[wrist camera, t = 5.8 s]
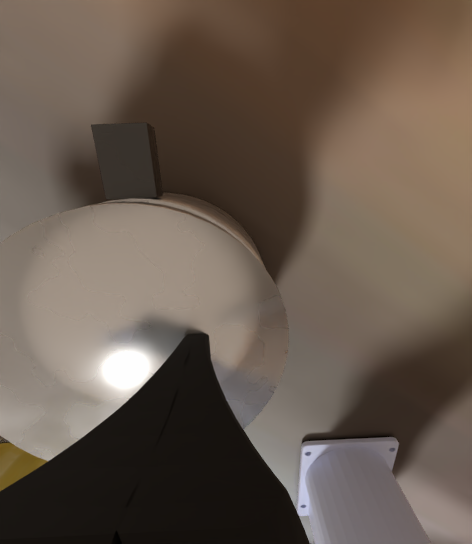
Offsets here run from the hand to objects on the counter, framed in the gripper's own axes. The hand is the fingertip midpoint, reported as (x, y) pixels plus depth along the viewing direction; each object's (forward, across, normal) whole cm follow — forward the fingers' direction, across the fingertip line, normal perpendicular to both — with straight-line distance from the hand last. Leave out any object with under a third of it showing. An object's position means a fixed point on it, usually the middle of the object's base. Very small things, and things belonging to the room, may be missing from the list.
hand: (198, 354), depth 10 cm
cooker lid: (0, +3, 0) cm, 3 cm away
